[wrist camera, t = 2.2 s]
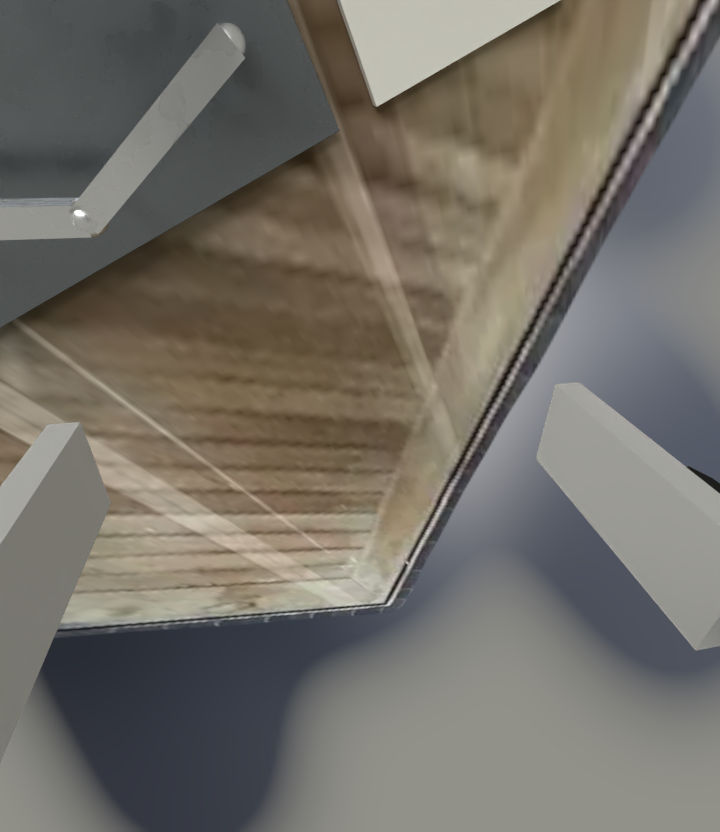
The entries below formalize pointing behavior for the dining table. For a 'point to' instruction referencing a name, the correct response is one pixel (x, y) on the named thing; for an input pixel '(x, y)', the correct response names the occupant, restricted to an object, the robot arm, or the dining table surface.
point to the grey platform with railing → (137, 125)
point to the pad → (423, 36)
